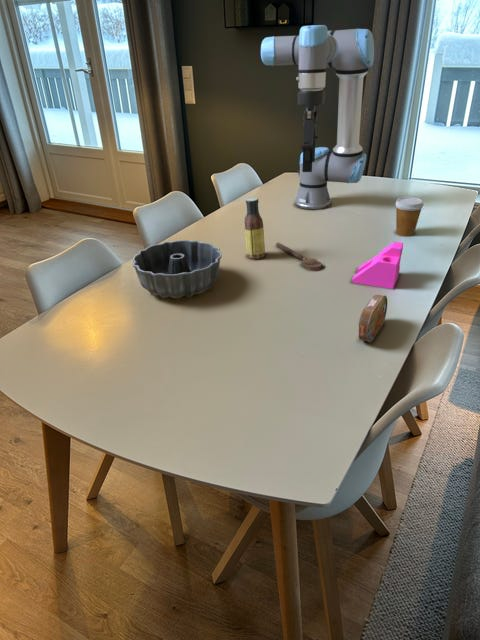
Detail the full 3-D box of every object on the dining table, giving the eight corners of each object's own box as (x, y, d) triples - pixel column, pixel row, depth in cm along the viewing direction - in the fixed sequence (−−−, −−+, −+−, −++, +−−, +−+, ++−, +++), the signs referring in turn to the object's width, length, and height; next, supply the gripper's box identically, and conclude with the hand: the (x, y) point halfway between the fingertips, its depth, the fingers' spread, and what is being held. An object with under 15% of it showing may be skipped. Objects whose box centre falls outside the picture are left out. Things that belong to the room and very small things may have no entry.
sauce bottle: (267, 253, 161) (266, 196, 151) (262, 260, 156) (260, 202, 146) (249, 251, 163) (246, 195, 153) (243, 258, 158) (240, 201, 148)
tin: (367, 348, 110) (370, 318, 106) (354, 345, 112) (357, 315, 108) (386, 319, 121) (390, 290, 117) (374, 316, 123) (378, 288, 118)
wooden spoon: (270, 247, 165) (270, 243, 164) (282, 244, 167) (282, 240, 166) (311, 271, 147) (311, 267, 146) (324, 267, 149) (325, 263, 148)
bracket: (398, 274, 143) (403, 242, 138) (393, 288, 135) (397, 256, 130) (359, 268, 148) (362, 237, 142) (351, 282, 140) (354, 250, 134)
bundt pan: (187, 260, 159) (184, 232, 154) (241, 283, 143) (240, 252, 137) (120, 287, 144) (114, 258, 139) (173, 316, 127) (168, 284, 122)
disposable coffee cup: (415, 228, 175) (420, 196, 168) (421, 237, 167) (426, 204, 160) (389, 228, 176) (393, 196, 169) (394, 237, 168) (398, 205, 161)
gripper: (301, 86, 144) (300, 157, 154) (293, 94, 123) (292, 176, 133) (326, 85, 142) (323, 158, 153) (322, 93, 121) (319, 176, 132)
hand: (308, 166), depth 143 cm, fingers open, 13 cm apart
